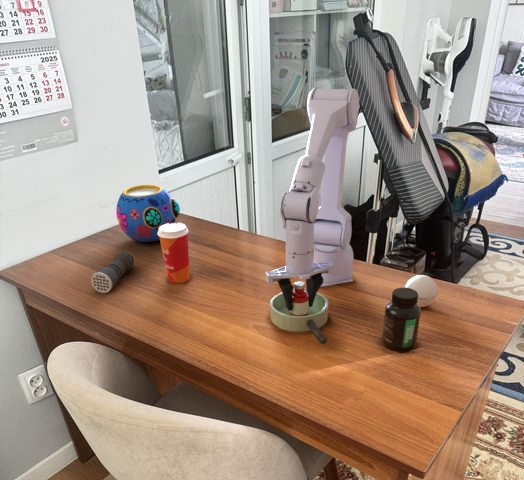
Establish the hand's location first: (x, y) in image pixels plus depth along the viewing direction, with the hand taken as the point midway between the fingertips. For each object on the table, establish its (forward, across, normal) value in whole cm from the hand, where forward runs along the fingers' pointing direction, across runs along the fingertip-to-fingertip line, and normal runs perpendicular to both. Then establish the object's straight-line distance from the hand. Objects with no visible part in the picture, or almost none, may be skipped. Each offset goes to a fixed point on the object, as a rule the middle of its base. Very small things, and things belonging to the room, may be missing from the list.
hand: (299, 306), depth 115 cm
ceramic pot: (+3, -26, +61) cm, 67 cm away
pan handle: (+1, 0, -10) cm, 11 cm away
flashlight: (+3, -38, +35) cm, 52 cm away
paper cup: (+3, -22, +30) cm, 38 cm away
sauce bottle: (+2, 0, 0) cm, 2 cm away
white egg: (+3, +28, -5) cm, 29 cm away
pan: (+3, 0, 0) cm, 3 cm away
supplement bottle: (+3, +16, -17) cm, 23 cm away
